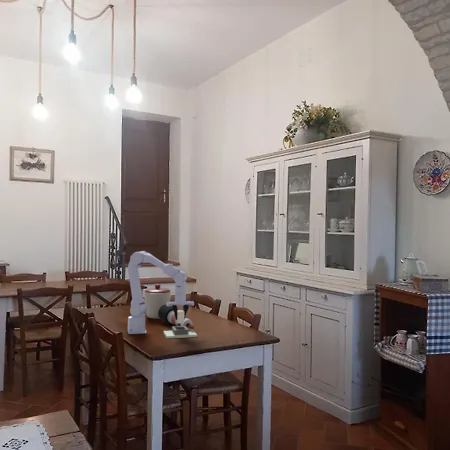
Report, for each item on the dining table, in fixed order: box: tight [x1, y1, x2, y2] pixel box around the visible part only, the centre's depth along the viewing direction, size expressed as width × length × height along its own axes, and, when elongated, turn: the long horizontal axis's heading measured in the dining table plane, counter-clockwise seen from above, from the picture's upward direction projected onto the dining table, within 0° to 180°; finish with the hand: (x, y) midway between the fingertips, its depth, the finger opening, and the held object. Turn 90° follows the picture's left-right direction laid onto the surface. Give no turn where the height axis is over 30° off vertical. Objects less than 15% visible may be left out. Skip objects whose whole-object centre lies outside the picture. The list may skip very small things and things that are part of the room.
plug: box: [176, 309, 184, 323], centre depth 253 cm, size 4×5×6 cm
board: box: [163, 325, 198, 339], centre depth 253 cm, size 16×12×4 cm
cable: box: [158, 304, 195, 330], centre depth 271 cm, size 10×34×10 cm, turn 31°
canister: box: [142, 283, 173, 320], centre depth 300 cm, size 18×18×21 cm
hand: (180, 319), depth 253 cm, fingers closed on plug, 3 cm apart
